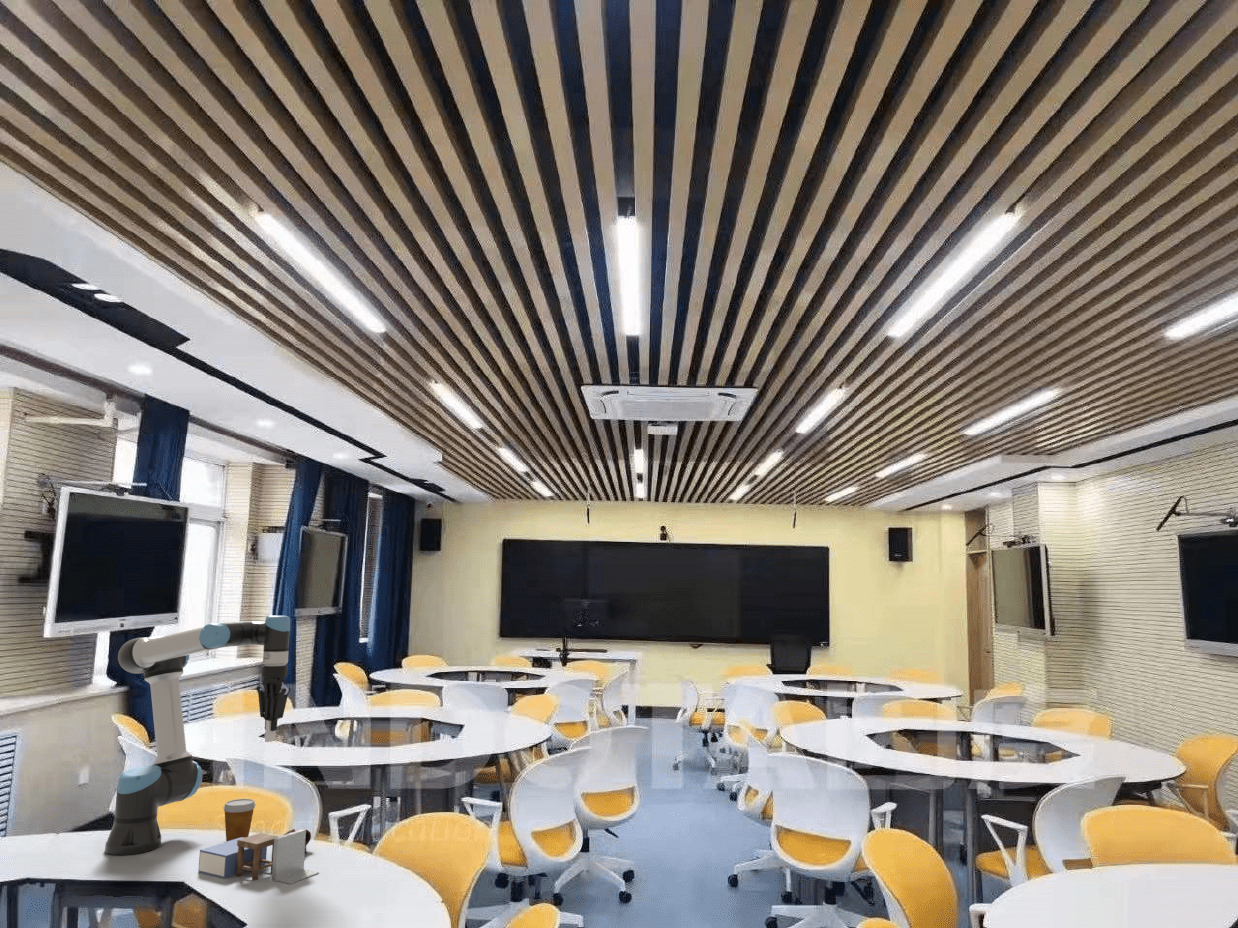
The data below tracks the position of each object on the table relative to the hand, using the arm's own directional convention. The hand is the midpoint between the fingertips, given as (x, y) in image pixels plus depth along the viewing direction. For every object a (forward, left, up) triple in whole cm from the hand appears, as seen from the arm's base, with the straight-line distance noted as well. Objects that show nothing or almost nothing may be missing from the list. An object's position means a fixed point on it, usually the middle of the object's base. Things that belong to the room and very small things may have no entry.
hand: (269, 741), depth 265 cm
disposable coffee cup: (-14, +2, -33) cm, 36 cm away
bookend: (+28, -12, -32) cm, 45 cm away
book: (+6, -16, -32) cm, 37 cm away
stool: (+13, -16, -28) cm, 34 cm away
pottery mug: (+11, +2, -33) cm, 35 cm away
